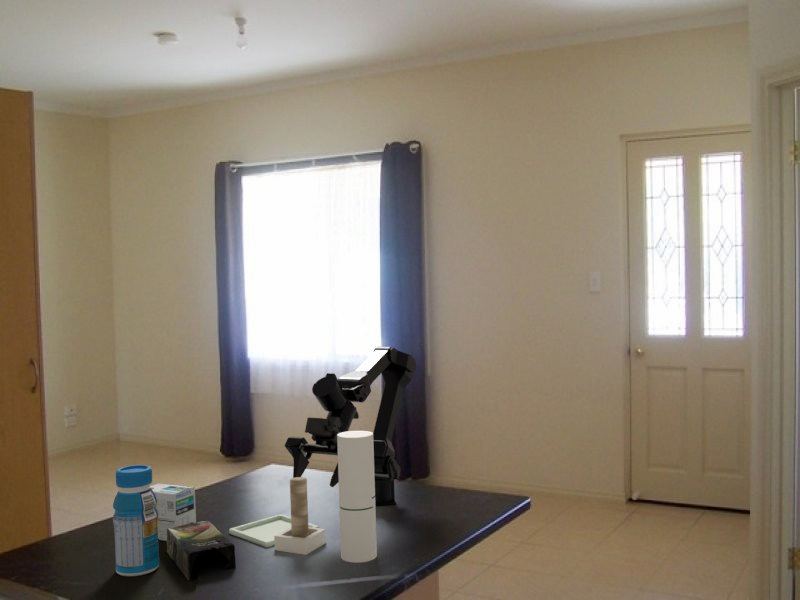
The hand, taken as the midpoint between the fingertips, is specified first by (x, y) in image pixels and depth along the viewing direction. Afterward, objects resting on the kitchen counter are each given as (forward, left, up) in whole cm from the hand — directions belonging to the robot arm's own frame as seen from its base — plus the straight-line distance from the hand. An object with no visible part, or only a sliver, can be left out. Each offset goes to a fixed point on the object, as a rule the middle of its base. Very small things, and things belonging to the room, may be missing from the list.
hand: (312, 484), depth 168 cm
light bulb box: (+31, -13, -12) cm, 36 cm away
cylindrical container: (-8, +13, -12) cm, 20 cm away
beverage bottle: (+35, +7, -12) cm, 38 cm away
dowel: (+3, +4, -12) cm, 13 cm away
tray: (+8, -7, -12) cm, 16 cm away
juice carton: (+23, +6, -13) cm, 27 cm away
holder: (+3, +4, -12) cm, 13 cm away
